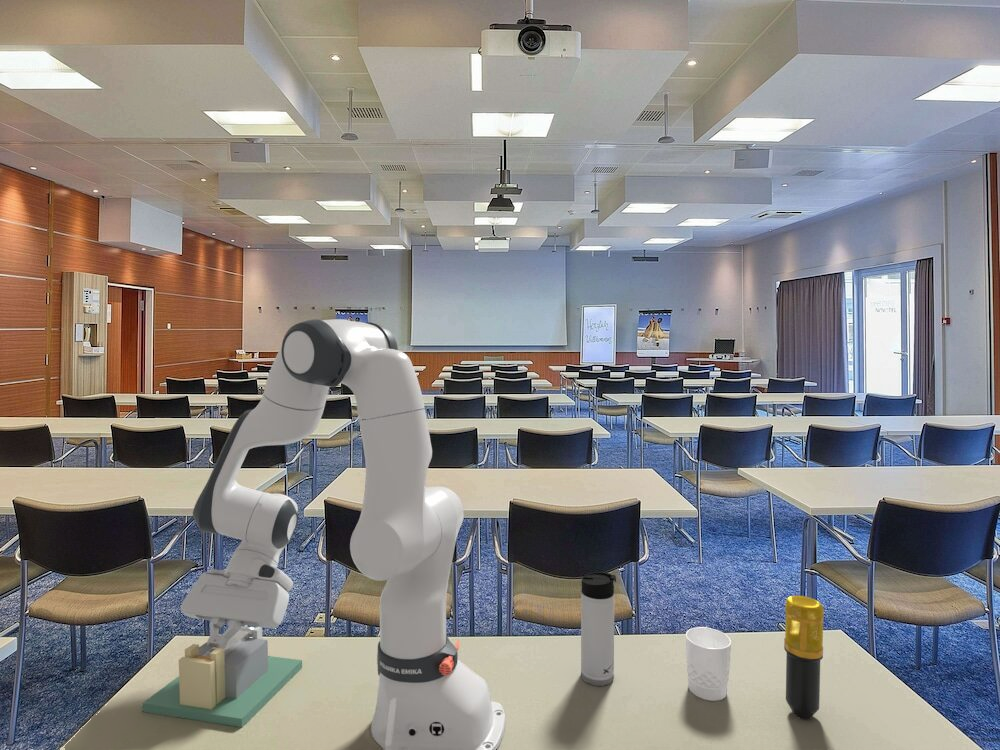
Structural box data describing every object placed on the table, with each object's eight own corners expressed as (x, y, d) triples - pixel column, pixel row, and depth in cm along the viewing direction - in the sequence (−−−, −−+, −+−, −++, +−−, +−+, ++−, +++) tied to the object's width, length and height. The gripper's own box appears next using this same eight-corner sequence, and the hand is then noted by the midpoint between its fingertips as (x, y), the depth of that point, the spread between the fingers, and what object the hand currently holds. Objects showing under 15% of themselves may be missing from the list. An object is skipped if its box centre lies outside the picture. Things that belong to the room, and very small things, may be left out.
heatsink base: (302, 667, 111) (301, 616, 110) (242, 727, 93) (240, 666, 93) (215, 656, 115) (214, 606, 114) (142, 711, 97) (140, 653, 97)
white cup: (736, 689, 103) (737, 636, 103) (720, 709, 97) (721, 654, 97) (695, 672, 108) (696, 622, 108) (677, 690, 103) (678, 638, 102)
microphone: (867, 718, 95) (870, 604, 94) (798, 727, 92) (800, 610, 92) (841, 697, 100) (844, 589, 99) (775, 705, 98) (777, 594, 97)
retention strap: (256, 634, 109) (256, 624, 109) (209, 671, 97) (209, 661, 97) (240, 632, 110) (240, 623, 110) (192, 669, 98) (191, 658, 98)
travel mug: (615, 688, 103) (616, 583, 102) (580, 684, 105) (580, 580, 104) (615, 669, 109) (616, 570, 109) (581, 665, 111) (582, 567, 110)
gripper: (196, 561, 110) (157, 634, 101) (287, 571, 106) (255, 648, 97) (213, 574, 115) (177, 645, 106) (301, 584, 110) (271, 659, 101)
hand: (215, 646), depth 101 cm, fingers closed, pressing on retention strap
